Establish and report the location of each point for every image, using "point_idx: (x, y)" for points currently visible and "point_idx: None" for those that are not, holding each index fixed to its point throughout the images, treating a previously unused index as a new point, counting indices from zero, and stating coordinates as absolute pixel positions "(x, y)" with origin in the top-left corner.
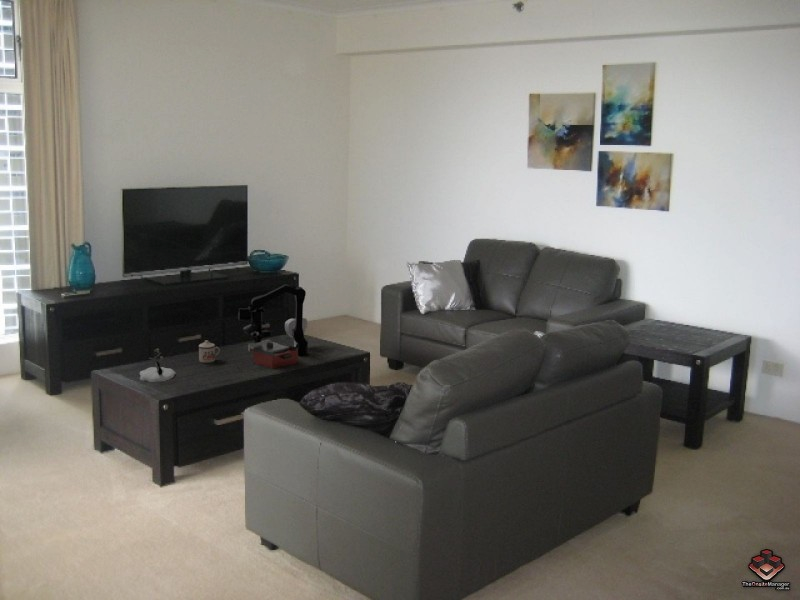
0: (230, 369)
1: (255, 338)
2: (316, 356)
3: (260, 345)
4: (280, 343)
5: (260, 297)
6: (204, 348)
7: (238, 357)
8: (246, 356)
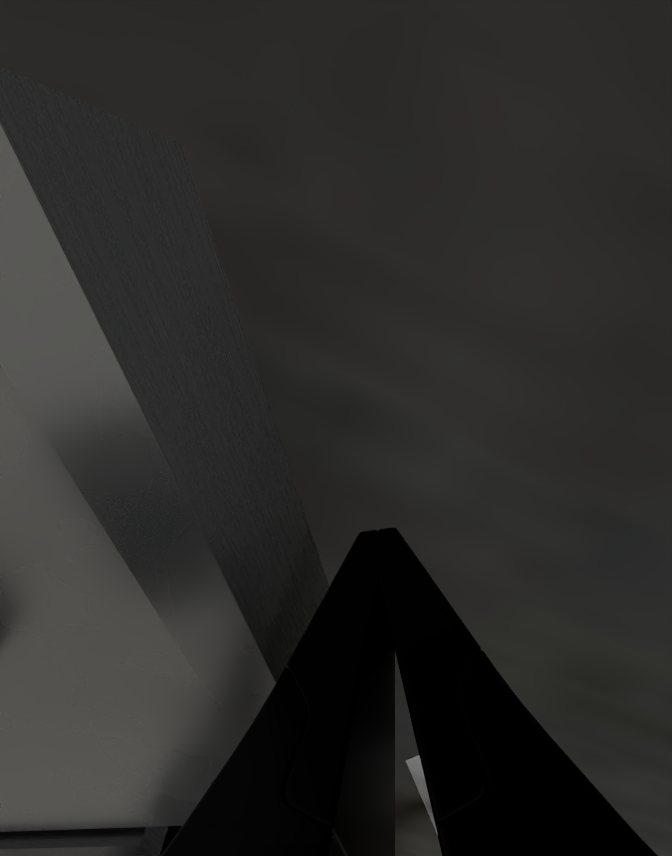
0: None
1: (428, 788)
2: None
3: (23, 566)
4: (65, 848)
5: None
6: None
7: (569, 56)
8: (513, 269)
